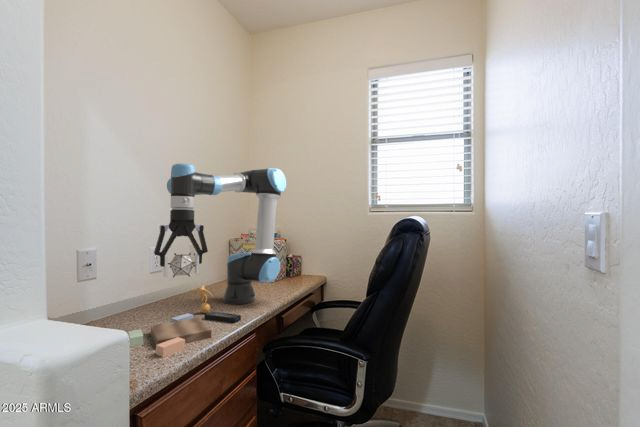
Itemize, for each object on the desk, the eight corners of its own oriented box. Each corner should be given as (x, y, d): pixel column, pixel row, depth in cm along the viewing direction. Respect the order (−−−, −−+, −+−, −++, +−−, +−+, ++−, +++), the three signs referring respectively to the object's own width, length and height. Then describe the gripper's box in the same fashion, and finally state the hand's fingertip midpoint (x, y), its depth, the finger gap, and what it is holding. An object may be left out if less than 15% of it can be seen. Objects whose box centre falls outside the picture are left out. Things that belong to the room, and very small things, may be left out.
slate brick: (187, 321, 119) (187, 313, 119) (193, 322, 118) (193, 314, 118) (170, 326, 113) (171, 318, 113) (176, 328, 111) (177, 319, 112)
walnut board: (198, 324, 115) (198, 317, 115) (211, 337, 102) (211, 330, 102) (150, 333, 106) (150, 325, 106) (157, 349, 93) (157, 340, 93)
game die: (183, 288, 103) (182, 267, 97) (163, 278, 104) (160, 257, 99) (201, 271, 110) (200, 251, 104) (182, 262, 112) (180, 242, 106)
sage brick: (128, 340, 100) (128, 331, 100) (140, 338, 102) (140, 329, 102) (130, 347, 94) (130, 338, 94) (143, 345, 96) (143, 335, 96)
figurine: (216, 312, 130) (217, 284, 130) (209, 316, 124) (209, 287, 124) (198, 311, 131) (199, 283, 132) (190, 315, 125) (191, 286, 126)
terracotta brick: (177, 346, 95) (177, 337, 95) (184, 349, 93) (185, 339, 93) (156, 355, 89) (156, 344, 89) (163, 358, 87) (163, 347, 87)
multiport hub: (211, 316, 125) (211, 311, 125) (241, 320, 120) (241, 315, 120) (203, 320, 121) (203, 314, 121) (234, 324, 116) (234, 318, 116)
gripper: (147, 208, 95) (145, 280, 95) (218, 209, 108) (217, 273, 108) (144, 208, 101) (143, 276, 101) (211, 210, 114) (211, 270, 114)
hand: (181, 274), depth 104 cm, fingers closed on game die, 9 cm apart
